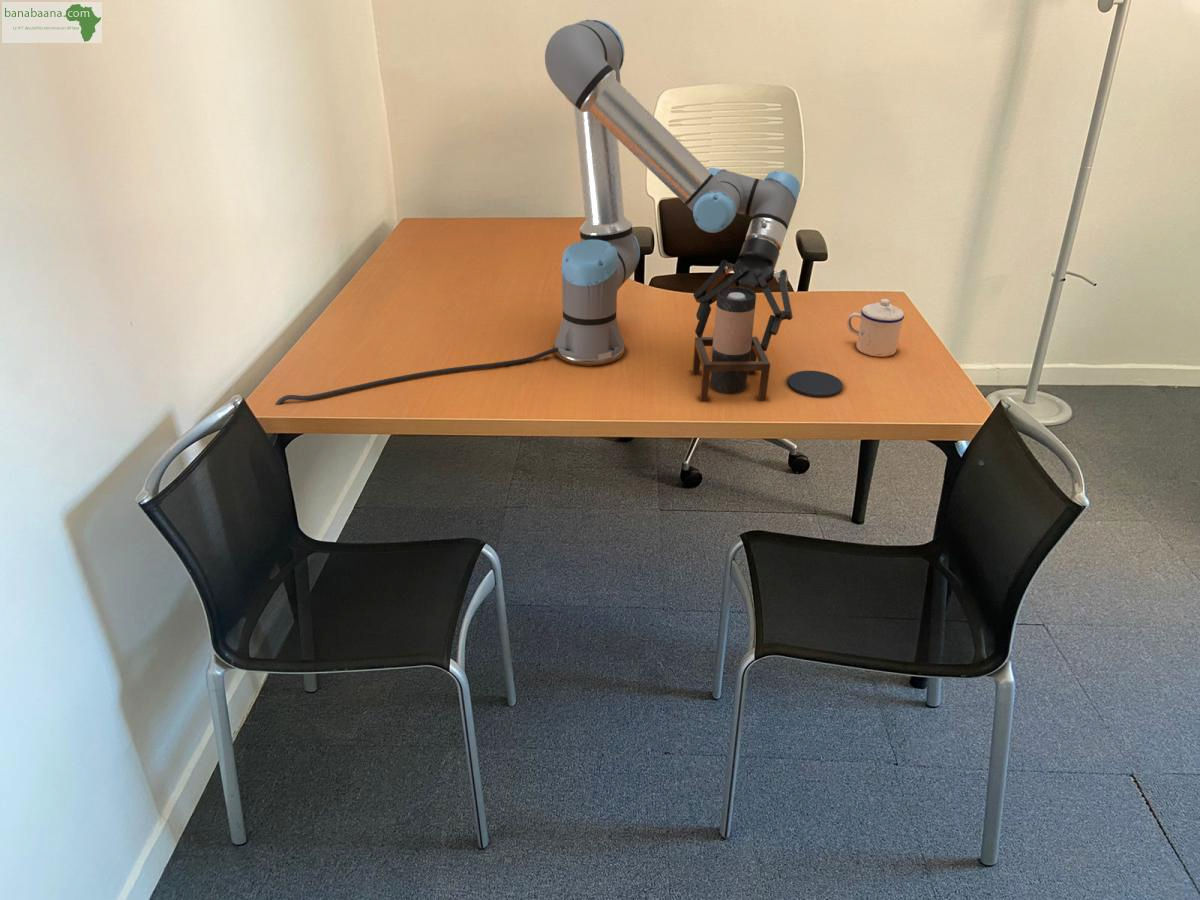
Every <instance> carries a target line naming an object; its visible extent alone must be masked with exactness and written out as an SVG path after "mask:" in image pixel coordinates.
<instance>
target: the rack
mask: <svg viewBox="0 0 1200 900" xmlns="http://www.w3.org/2000/svg"><path fill="white" fill-rule="evenodd" d="M706 347H713V336H702V338H700V337H698V336H696V337H694V345H693V360H692V375H700V372H701V379H700V380H701V382H700V391H699V392H700V393H699V399H700V402H707V401H708V399H709V398H708V397H709V385H710V377H711V371H748V373H747V375H755V373H756V372H760V379H759V388H758V394H757V397H758V400H759V401H766V400H767V395H768V394H767V393H768V385H769V378H770V377H769V375H770V368H771V363H770V360H769V358H768V356H767V354H766V351H763V350H762V348H761V342H760V340H759V338H758V336H752V344H751V352H750V359H749V361H726V362H712V361H710V359H709V357H708V353H707V350H706ZM701 368H702V369H701Z"/></svg>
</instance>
